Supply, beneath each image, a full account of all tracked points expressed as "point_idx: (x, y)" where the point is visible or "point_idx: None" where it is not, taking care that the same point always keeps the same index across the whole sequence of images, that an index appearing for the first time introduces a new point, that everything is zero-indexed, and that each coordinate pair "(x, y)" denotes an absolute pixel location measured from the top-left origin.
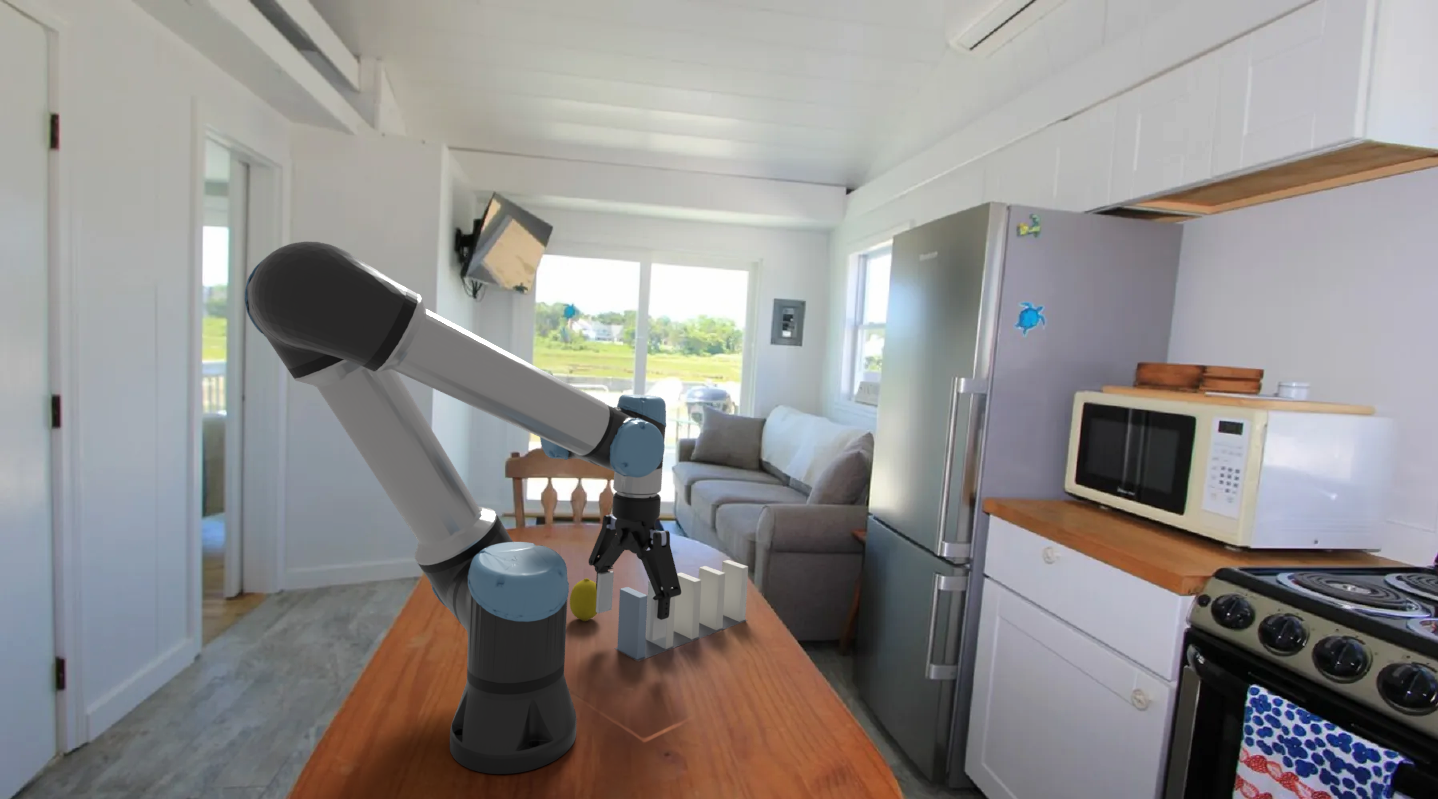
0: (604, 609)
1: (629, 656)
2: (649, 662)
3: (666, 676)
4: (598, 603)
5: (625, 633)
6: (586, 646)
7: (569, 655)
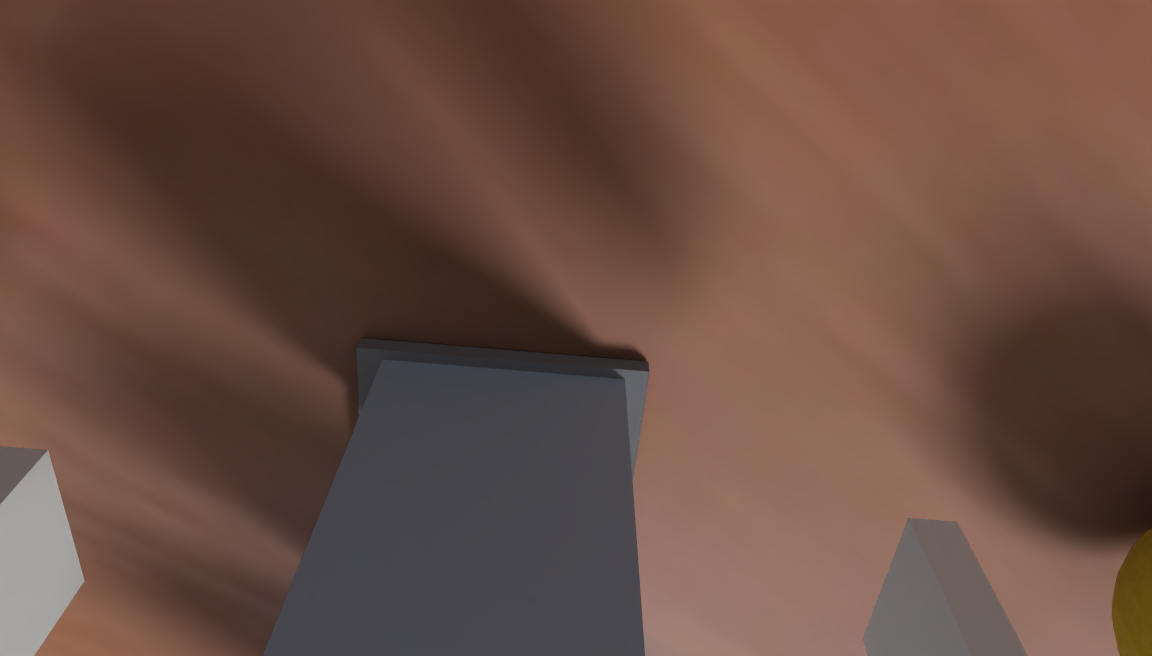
0: (895, 594)
1: (460, 356)
2: (327, 402)
3: (75, 340)
4: (956, 602)
5: (525, 470)
6: (877, 272)
7: (878, 61)
